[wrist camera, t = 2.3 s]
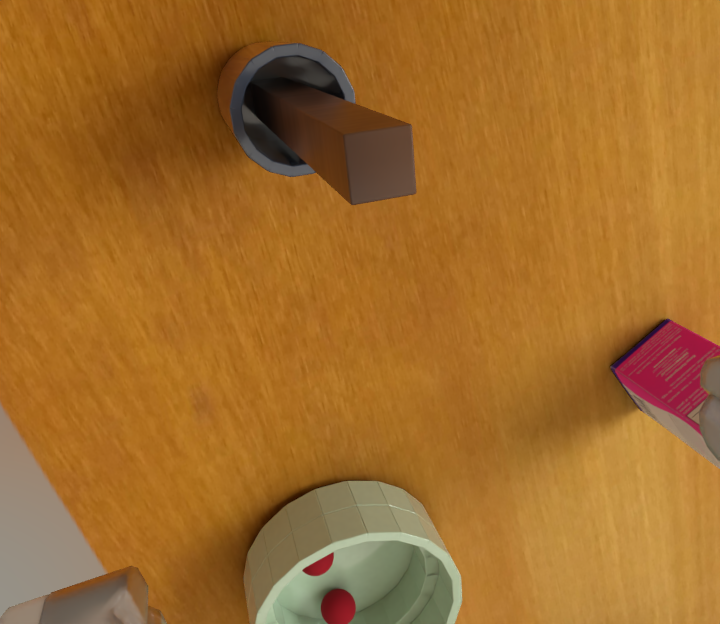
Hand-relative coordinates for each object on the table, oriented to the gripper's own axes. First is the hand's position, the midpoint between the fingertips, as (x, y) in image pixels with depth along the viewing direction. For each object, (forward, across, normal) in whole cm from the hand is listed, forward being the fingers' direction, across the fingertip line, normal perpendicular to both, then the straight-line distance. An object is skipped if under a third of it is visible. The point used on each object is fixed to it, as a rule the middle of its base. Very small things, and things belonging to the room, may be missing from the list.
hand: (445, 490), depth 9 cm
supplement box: (+30, -26, +23) cm, 46 cm away
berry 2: (+28, +2, +34) cm, 44 cm away
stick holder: (+30, -2, -2) cm, 30 cm away
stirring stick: (+29, -2, -2) cm, 29 cm away
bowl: (+30, +1, +31) cm, 43 cm away
